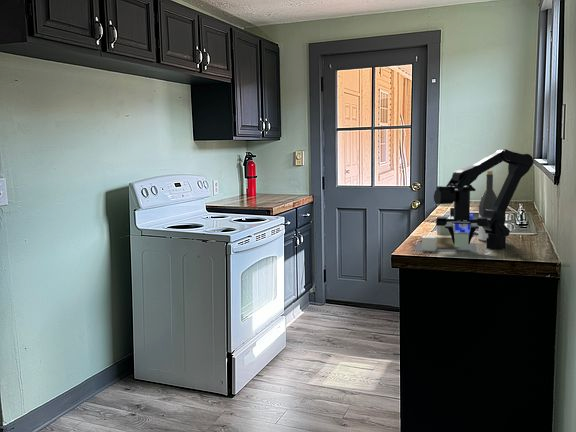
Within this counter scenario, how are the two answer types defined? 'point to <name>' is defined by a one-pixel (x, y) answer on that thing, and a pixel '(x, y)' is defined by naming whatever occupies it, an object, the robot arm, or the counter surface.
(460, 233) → the sage cube
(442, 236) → the oak base block
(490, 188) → the wine bottle
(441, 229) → the mat
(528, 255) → the counter surface
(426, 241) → the cream cube
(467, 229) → the bracket
